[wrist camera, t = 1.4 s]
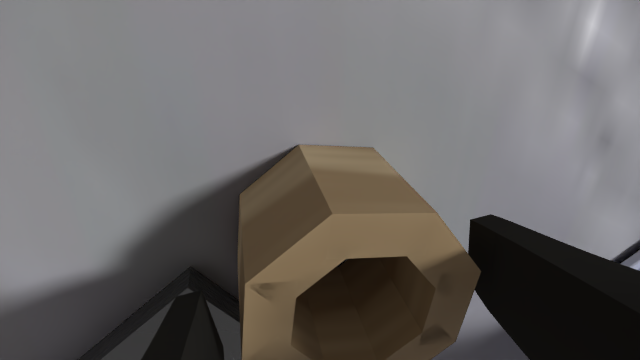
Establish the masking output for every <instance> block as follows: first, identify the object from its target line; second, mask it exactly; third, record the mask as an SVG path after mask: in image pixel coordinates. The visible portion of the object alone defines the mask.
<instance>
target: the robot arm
mask: <svg viewBox="0 0 640 360" xmlns="http://www.w3.org/2000/svg"><path fill="white" fill-rule="evenodd" d="M468 255H469V256H470V257H471V259H472V260H473V261H474V263H475V264H476V265H477V267H478V268H479V269H480V271H481V273H480V276H479V279H478V281H477V284H476V287H475V291H476V293H477V294H478V296H479V297H480V299H481V300H482V302H483V303H484V305H485V306H486V308H487V309H488V310H489V312H490V313H491V314H492V315H493V317H494V318H495V319H496V320H497V321H498V323H499V324H500V325H501V326H502V327H503V329H504V330H505V331H506V332H507V333H508V335H509V336H510V337H511V338H512V339H513V340H514V342H515V343H516V344H517V345H518V346H519V347H520V349H521V350H522V351H523V352H524V353H525V355H526V356H527V357H528V358H529V359H530V360H640V250H639V251H638V252H636V253H635V254H633V255H632V256H631V257H629V258H628V259H626V260H625V261H624V262H622V263H621V264H619V263H616V262H613V261H610V260H607V259H605V258H602V257H599V256H597V255H594V254H591V253H589V252H586V251H583V250H581V249H578V248H576V247H573V246H570V245H568V244H565V243H563V242H560V241H558V240H555V239H553V238H550V237H548V236H545V235H543V234H541V233H538V232H536V231H533V230H531V229H528V228H526V227H523V226H521V225H518V224H516V223H513V222H511V221H508V220H505V219H503V218H500V217H497V216H494V215H491V214H490V215H487V216H483V217H479V218H475V219H471V220H470V234H469V251H468ZM141 360H224V347H223V344H222V341H221V339H220V336H219V333H218V331H217V328H216V326H215V323H214V320H213V318H212V315H211V312H210V310H209V307H208V305H207V302H206V299H205V297H204V294H203V291H202V290H199V291H195V292H191V293H188V294H184V295H180V296H177V297H176V298H175V299H174V301H173V303H172V304H171V306H170V308H169V310H168V312H167V314H166V315H165V317H164V319H163V321H162V323H161V325H160V327H159V328H158V330H157V332H156V334H155V336H154V337H153V339H152V341H151V343H150V345H149V346H148V348H147V350H146V352H145V353H144V355H143V357H142V359H141Z"/></svg>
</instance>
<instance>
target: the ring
mask: <svg viewBox="0 0 640 360" xmlns="http://www.w3.org/2000/svg"><path fill="white" fill-rule="evenodd" d="M237 259H238V285H239V311H240V337H241V360H431V359H432V358H433V357H435V356H436V355H438V354H439V353H440V352H442V351H443V350H445V349H446V348H447V347H449V346H450V345H452V344H453V343H454V342H456V339H457V336H458V334H459V331H460V328H461V325H462V323H463V320H464V317H465V314H466V312H467V309H468V306H469V303H470V301H471V298H472V295H473V292H474V290H475V287H476V284H477V281H478V279H479V276H480V273H481V271H480V269H479V268H478V267H477V265H476V264H475V263H474V261H473V260H472V259H471V257H470V256H469V255H468V253H467V252H466V251H465V249H464V248H463V247H462V245H461V244H460V243H459V241H458V240H457V239H456V237H455V236H454V235H453V233H452V232H451V231H450V229H449V228H448V227H447V225H446V224H445V223H444V221H443V220H442V219H441V217H440V216H439V215H438V213H437V212H436V211H435V210H434V209H433V208H432V207H431V206H430V205H429V204H428V203H427V202H426V201H425V200H424V199H423V198H422V197H421V196H420V195H419V194H418V193H417V192H416V191H415V190H414V189H413V188H412V187H411V186H410V185H409V184H408V183H407V182H406V181H405V180H404V179H403V178H402V177H401V176H400V175H399V174H398V173H397V172H396V171H395V170H394V169H393V168H392V166H391V165H390V164H389V163H388V162H387V161H386V160H385V159H384V158H383V157H382V156H381V155H380V154H379V153H378V152H377V151H376V150H375V149H374V148H368V147H342V146H316V145H298V146H297V147H295V148H294V149H293V150H292V151H291V152H290V153H288V154H287V155H286V156H285V157H284V158H282V159H281V160H280V161H279V162H278V163H276V164H275V165H274V166H273V167H272V168H271V169H269V170H268V171H267V172H266V173H265V174H263V175H262V176H261V177H260V178H259V179H257V180H256V181H255V182H254V183H253V184H252V185H250V186H249V187H248V188H247V189H246V190H244V191H243V192H242V193H241V194H240V198H239V228H238V258H237ZM345 259H348V260H347V261H346V262H344V263H343V264H342V265H341V266H339V267H336V266H338V265H339V264H340V263H341V262H343V261H344V260H345Z"/></svg>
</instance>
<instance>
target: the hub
mask: <svg viewBox="0 0 640 360" xmlns="http://www.w3.org/2000/svg"><path fill="white" fill-rule="evenodd" d="M199 290H202V291H203V294H204V297H205V299H206V302H207V305H208V307H209V310H210V312H211V315H212V318H213V320H214V323H215V326H216V328H217V331H218V333H219V336H220V339H221V341H222V344H223V347H224V360H241V337H240V311H239V301H238V300H237V299H236V298H234V297H233V296H231V295H230V294H229V293H227V292H226V291H224V290H223V289H221V288H220V287H219V286H217V285H216V284H214V283H213V282H212V281H210V280H209V279H207V278H206V277H205V276H203V275H202V274H200V273H199V272H198V271H196V270H195V269H193V268H192V267H190V268H188V269H187V270H186V271H185V272H184V273H182V274H181V275H180V276H179V277H178V278H176V279H175V280H174V281H173V282H172V283H170V284H169V285H168V286H167V287H165V288H164V289H163V290H162V291H161V292H159V293H158V294H157V295H156V296H155V297H153V298H152V299H151V300H150V301H149V302H147V303H146V304H145V305H144V306H143V307H141V308H140V309H139V310H138V311H137V312H135V313H134V314H133V315H132V316H130V317H129V318H128V319H127V320H126V321H124V322H123V323H122V324H121V325H120V326H118V327H117V328H116V329H115V330H114V331H112V332H111V333H110V334H109V335H108V336H106V337H105V338H104V339H103V340H102V341H100V342H99V343H98V344H97V345H96V346H94V347H93V348H92V349H91V350H89V351H88V352H87V353H86V354H85V355H83V356H82V357H81V358H80V359H79V360H141V359H142V357H143V355H144V353H145V352H146V350H147V348H148V346H149V345H150V343H151V341H152V339H153V337H154V336H155V334H156V332H157V330H158V328H159V327H160V325H161V323H162V321H163V319H164V317H165V315H166V314H167V312H168V310H169V308H170V306H171V304H172V303H173V301H174V299H175V298H176V297H177V296H180V295H184V294H188V293H191V292H195V291H199Z"/></svg>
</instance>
